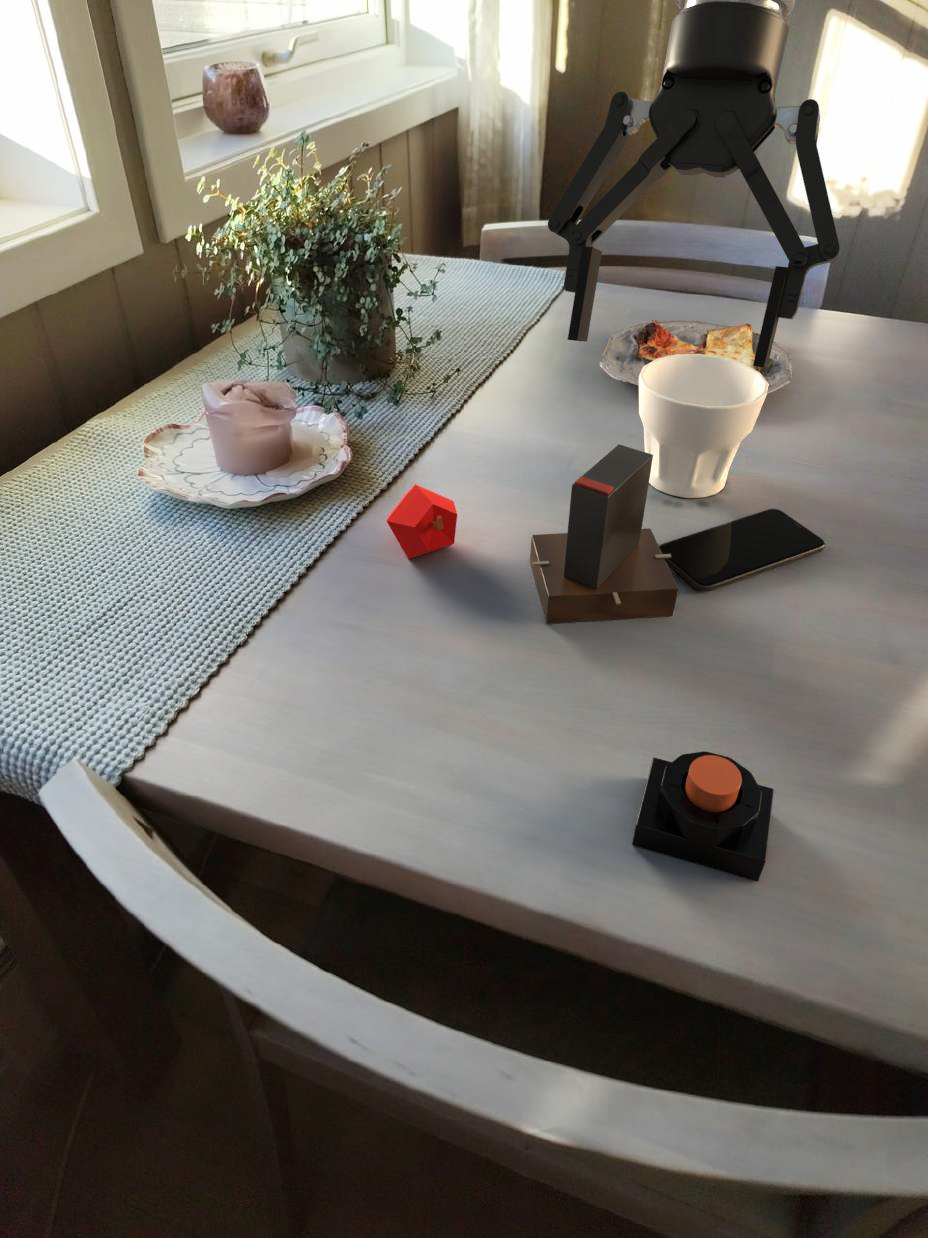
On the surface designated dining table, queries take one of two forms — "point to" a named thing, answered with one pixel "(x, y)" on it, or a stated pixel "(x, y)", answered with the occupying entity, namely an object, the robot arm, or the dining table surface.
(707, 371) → the cup
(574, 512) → the dark grey block
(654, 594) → the base
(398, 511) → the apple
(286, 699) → the dining table surface
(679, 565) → the smartphone
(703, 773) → the button
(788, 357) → the food plate
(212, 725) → the dining table surface
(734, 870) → the button block
